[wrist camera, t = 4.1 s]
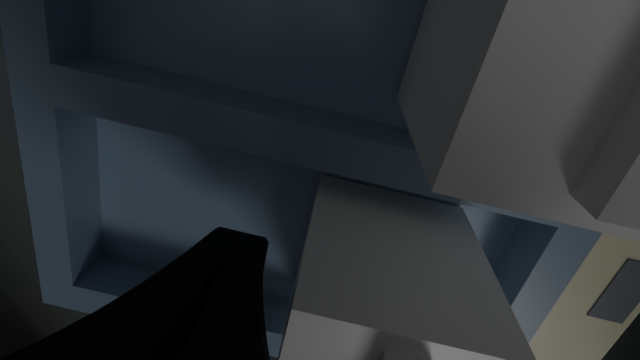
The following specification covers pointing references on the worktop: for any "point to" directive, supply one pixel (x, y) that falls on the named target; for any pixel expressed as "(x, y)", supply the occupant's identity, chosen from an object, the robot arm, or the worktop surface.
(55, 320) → the worktop surface
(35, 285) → the worktop surface
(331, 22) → the dark blue tray
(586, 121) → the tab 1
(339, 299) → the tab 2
